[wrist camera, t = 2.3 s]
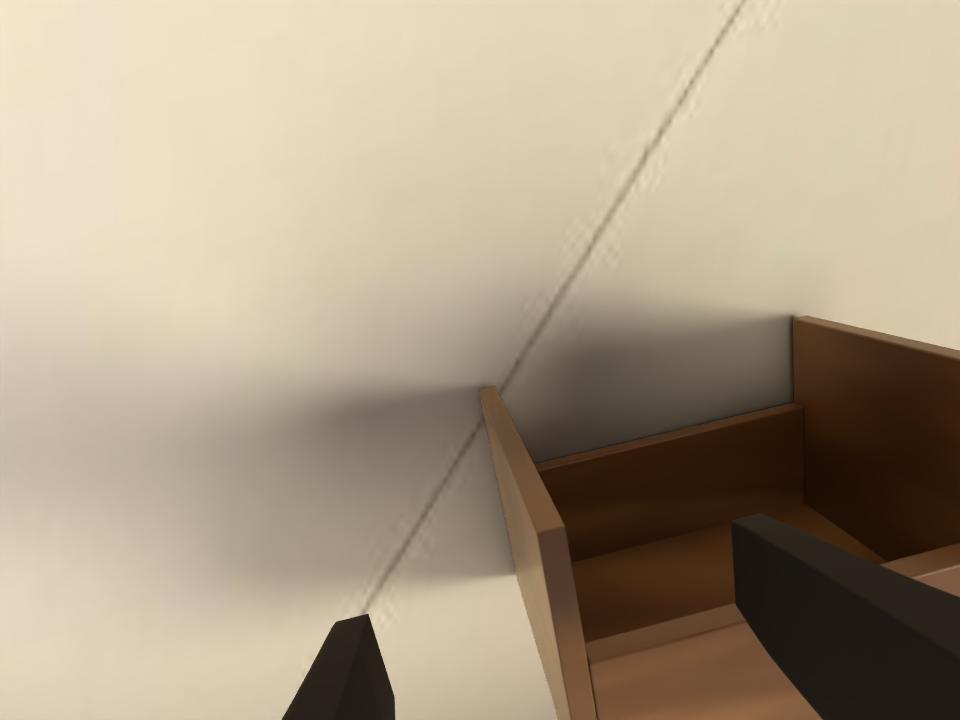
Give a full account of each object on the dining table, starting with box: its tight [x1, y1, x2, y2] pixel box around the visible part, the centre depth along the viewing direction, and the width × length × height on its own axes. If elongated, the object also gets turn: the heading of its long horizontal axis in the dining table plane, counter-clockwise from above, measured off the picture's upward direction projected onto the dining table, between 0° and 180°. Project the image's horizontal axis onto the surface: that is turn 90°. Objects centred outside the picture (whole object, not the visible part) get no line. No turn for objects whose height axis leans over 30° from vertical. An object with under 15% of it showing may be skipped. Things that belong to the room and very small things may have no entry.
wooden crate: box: [479, 316, 960, 720], centre depth 16 cm, size 9×13×8 cm
